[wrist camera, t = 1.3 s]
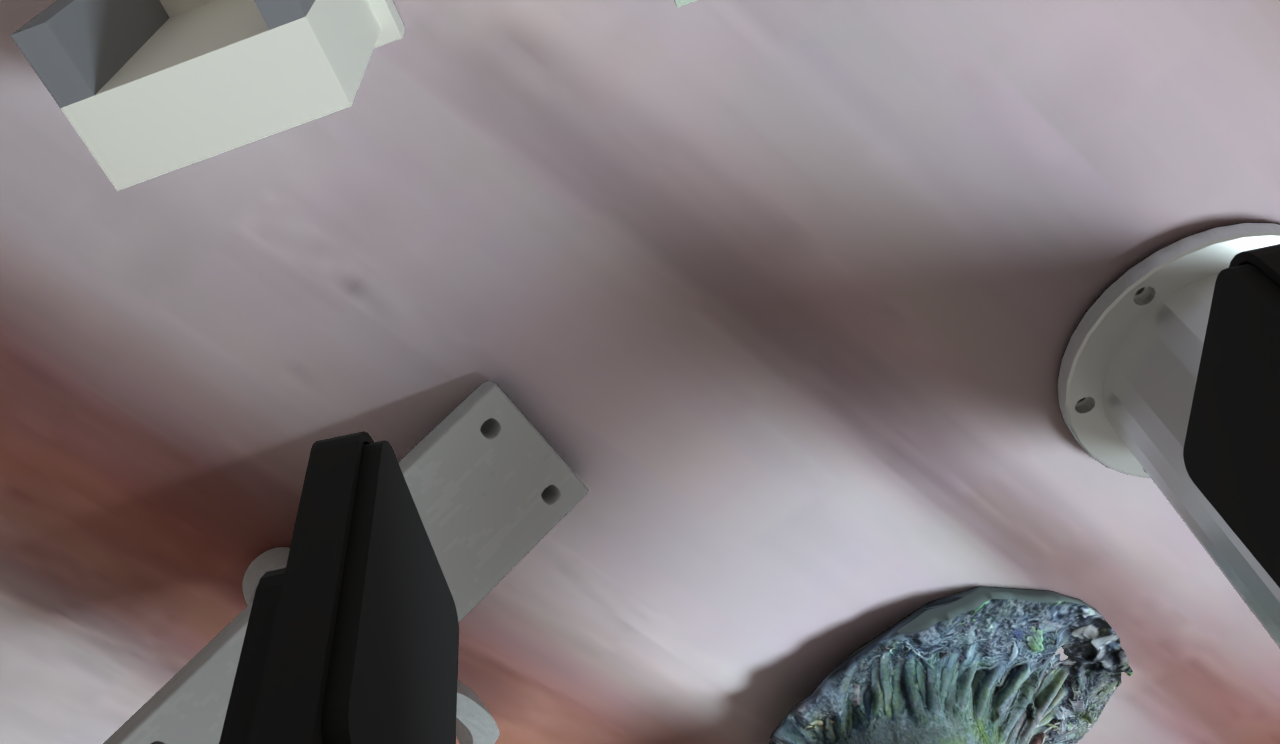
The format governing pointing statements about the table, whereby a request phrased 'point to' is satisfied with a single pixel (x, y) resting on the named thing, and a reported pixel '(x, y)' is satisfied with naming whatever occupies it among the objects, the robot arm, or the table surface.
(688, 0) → the door panel
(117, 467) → the table surface
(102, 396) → the table surface
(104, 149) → the hinge frame
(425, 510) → the door handle
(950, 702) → the tree stump
